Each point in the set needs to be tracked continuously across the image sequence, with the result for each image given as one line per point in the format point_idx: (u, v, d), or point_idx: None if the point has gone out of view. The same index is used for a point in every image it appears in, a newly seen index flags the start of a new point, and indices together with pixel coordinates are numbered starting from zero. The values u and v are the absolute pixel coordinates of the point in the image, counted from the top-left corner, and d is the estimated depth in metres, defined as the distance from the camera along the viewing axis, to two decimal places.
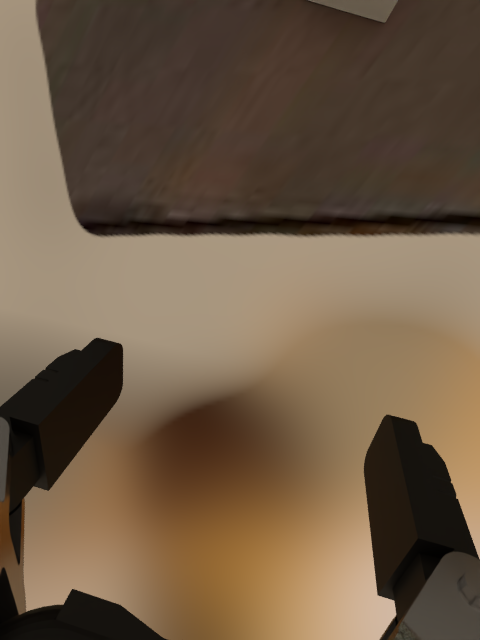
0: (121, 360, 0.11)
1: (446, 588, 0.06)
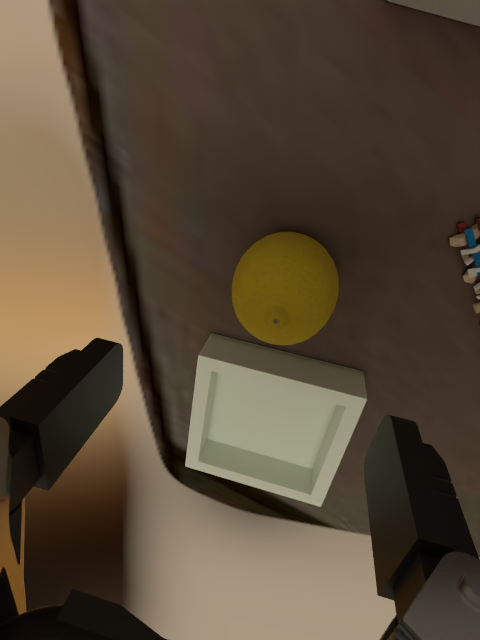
0: (121, 360, 0.11)
1: (446, 588, 0.06)
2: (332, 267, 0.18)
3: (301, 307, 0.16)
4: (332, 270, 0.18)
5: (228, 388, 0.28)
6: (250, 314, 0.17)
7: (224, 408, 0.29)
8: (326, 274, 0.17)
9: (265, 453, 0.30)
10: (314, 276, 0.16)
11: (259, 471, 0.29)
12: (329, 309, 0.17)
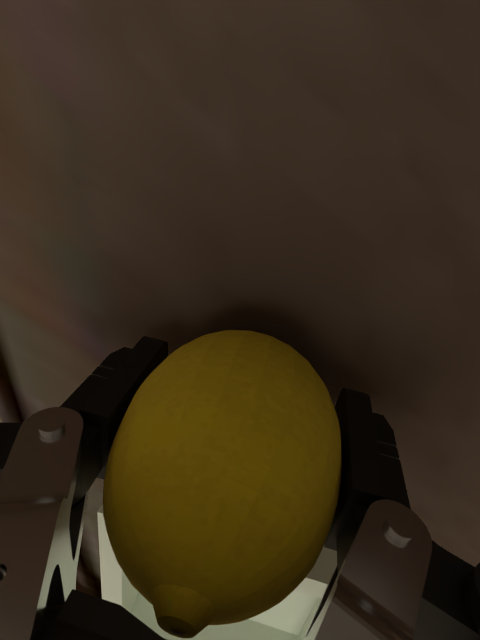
0: (166, 357, 0.12)
1: (374, 534, 0.07)
2: (328, 436, 0.08)
3: (247, 586, 0.06)
4: (328, 447, 0.08)
5: None
6: (126, 575, 0.07)
7: None
8: (312, 475, 0.07)
9: None
10: (283, 497, 0.06)
11: None
12: (321, 548, 0.07)
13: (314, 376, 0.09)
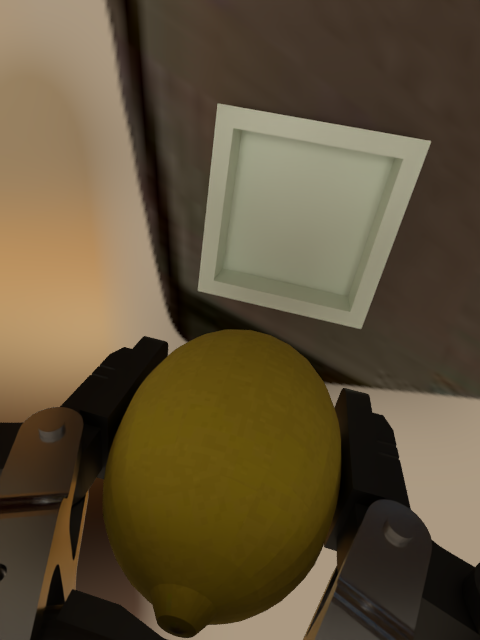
0: None
1: (374, 534, 0.07)
2: (328, 435, 0.08)
3: (247, 586, 0.06)
4: (328, 446, 0.08)
5: (250, 186, 0.23)
6: (126, 574, 0.07)
7: (244, 217, 0.24)
8: (312, 475, 0.07)
9: (292, 280, 0.25)
10: (283, 497, 0.06)
11: (286, 292, 0.24)
12: (320, 548, 0.07)
13: (314, 376, 0.09)
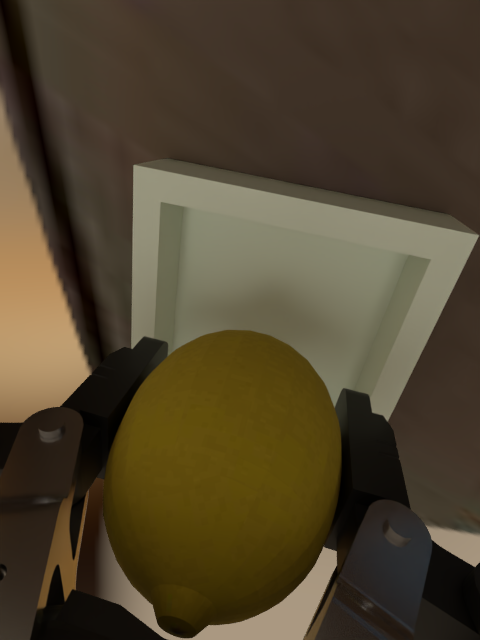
0: (166, 357, 0.12)
1: (373, 535, 0.07)
2: (328, 435, 0.08)
3: (247, 586, 0.06)
4: (328, 446, 0.08)
5: (200, 269, 0.16)
6: (126, 575, 0.07)
7: (195, 310, 0.17)
8: (313, 475, 0.07)
9: None
10: (283, 497, 0.06)
11: None
12: (321, 548, 0.07)
13: (314, 376, 0.09)
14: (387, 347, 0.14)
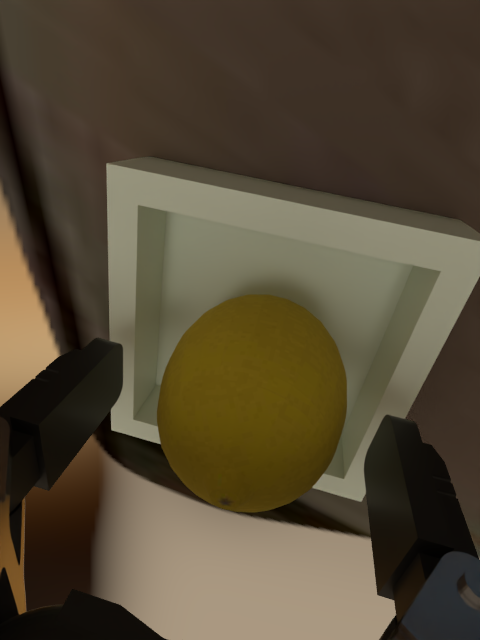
0: (121, 360, 0.11)
1: (446, 588, 0.06)
2: (336, 370, 0.10)
3: (277, 469, 0.08)
4: (337, 377, 0.10)
5: (186, 278, 0.15)
6: (181, 470, 0.09)
7: (182, 321, 0.16)
8: (326, 394, 0.09)
9: None
10: (304, 405, 0.08)
11: None
12: (332, 454, 0.09)
13: (324, 328, 0.11)
14: (390, 366, 0.12)
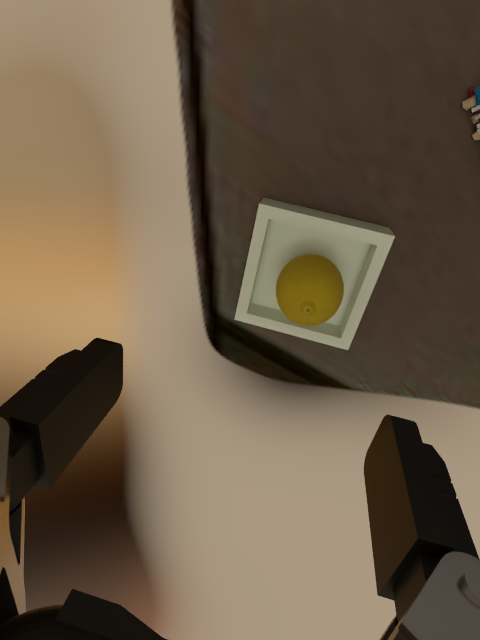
0: (121, 360, 0.11)
1: (446, 588, 0.06)
2: (340, 278, 0.29)
3: (323, 302, 0.27)
4: (340, 280, 0.29)
5: (274, 249, 0.33)
6: (291, 306, 0.28)
7: (269, 269, 0.34)
8: (337, 283, 0.28)
9: None
10: (331, 284, 0.27)
11: None
12: (338, 304, 0.28)
13: None
14: (360, 284, 0.31)
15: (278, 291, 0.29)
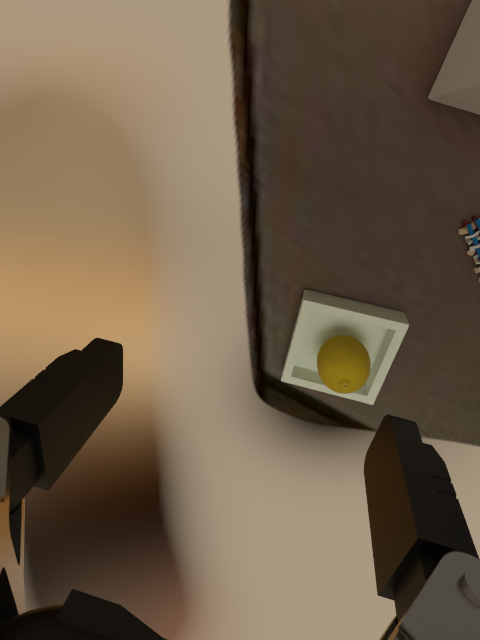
0: (121, 360, 0.11)
1: (446, 588, 0.06)
2: (368, 357, 0.37)
3: (356, 379, 0.36)
4: (368, 359, 0.37)
5: (312, 326, 0.42)
6: (331, 381, 0.36)
7: (308, 341, 0.43)
8: (366, 362, 0.37)
9: None
10: (361, 365, 0.36)
11: None
12: (367, 378, 0.37)
13: (363, 345, 0.39)
14: (382, 356, 0.40)
15: (320, 367, 0.38)
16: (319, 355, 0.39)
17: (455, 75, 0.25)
